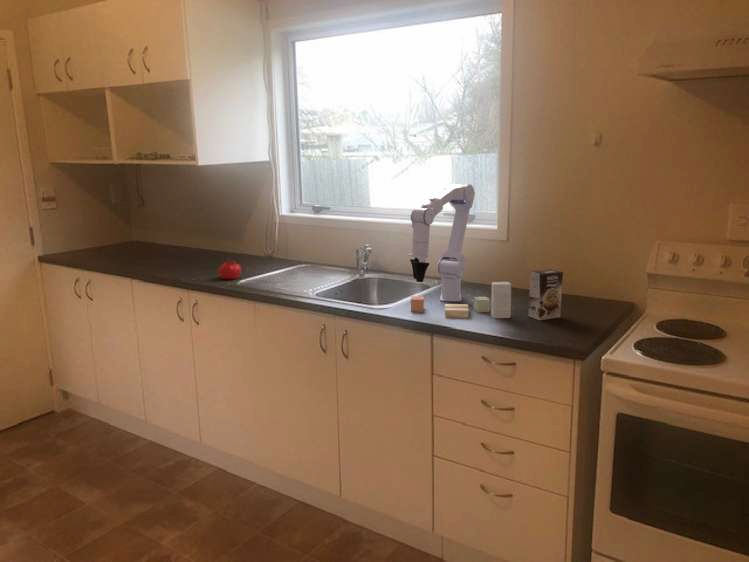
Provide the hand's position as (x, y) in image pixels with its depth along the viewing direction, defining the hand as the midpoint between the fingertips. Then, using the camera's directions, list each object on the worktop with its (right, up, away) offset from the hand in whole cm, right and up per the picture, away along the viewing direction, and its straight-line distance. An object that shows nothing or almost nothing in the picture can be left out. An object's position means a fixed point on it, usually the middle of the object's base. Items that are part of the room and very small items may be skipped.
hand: (418, 280), depth 220 cm
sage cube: (+23, -11, +3) cm, 26 cm away
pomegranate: (-81, +1, +61) cm, 101 cm away
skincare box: (+28, -13, -5) cm, 31 cm away
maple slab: (+13, -12, -2) cm, 18 cm away
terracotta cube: (0, -11, +5) cm, 12 cm away
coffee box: (+43, -13, -6) cm, 45 cm away
